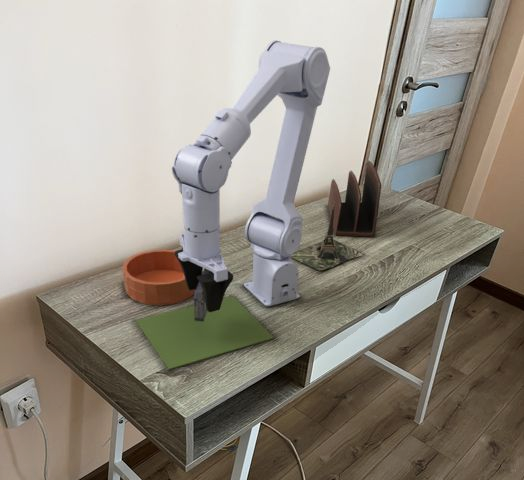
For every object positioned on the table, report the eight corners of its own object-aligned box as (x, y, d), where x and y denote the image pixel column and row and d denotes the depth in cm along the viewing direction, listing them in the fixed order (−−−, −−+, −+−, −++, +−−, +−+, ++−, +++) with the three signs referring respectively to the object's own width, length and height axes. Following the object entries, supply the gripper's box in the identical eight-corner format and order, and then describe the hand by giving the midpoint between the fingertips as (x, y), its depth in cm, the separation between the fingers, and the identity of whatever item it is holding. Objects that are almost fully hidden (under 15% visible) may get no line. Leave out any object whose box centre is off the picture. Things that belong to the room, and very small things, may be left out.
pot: (209, 294, 106) (209, 274, 103) (139, 312, 100) (137, 290, 97) (181, 263, 116) (180, 244, 113) (115, 277, 110) (113, 257, 107)
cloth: (273, 338, 95) (273, 337, 95) (169, 370, 86) (169, 368, 86) (232, 297, 106) (232, 295, 106) (135, 321, 97) (135, 320, 97)
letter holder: (362, 207, 148) (371, 156, 139) (374, 237, 132) (384, 181, 123) (327, 205, 147) (333, 154, 139) (334, 235, 132) (342, 179, 123)
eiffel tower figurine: (330, 239, 130) (338, 186, 122) (363, 254, 124) (373, 199, 116) (287, 257, 121) (292, 200, 113) (320, 273, 115) (327, 215, 107)
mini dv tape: (204, 296, 97) (203, 267, 93) (212, 297, 97) (211, 268, 93) (194, 321, 90) (193, 290, 87) (203, 322, 90) (202, 291, 86)
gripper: (161, 213, 87) (166, 285, 95) (197, 249, 77) (200, 325, 86) (200, 206, 90) (202, 276, 98) (240, 240, 80) (238, 315, 89)
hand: (203, 298), depth 92 cm, fingers closed on mini dv tape, 7 cm apart
